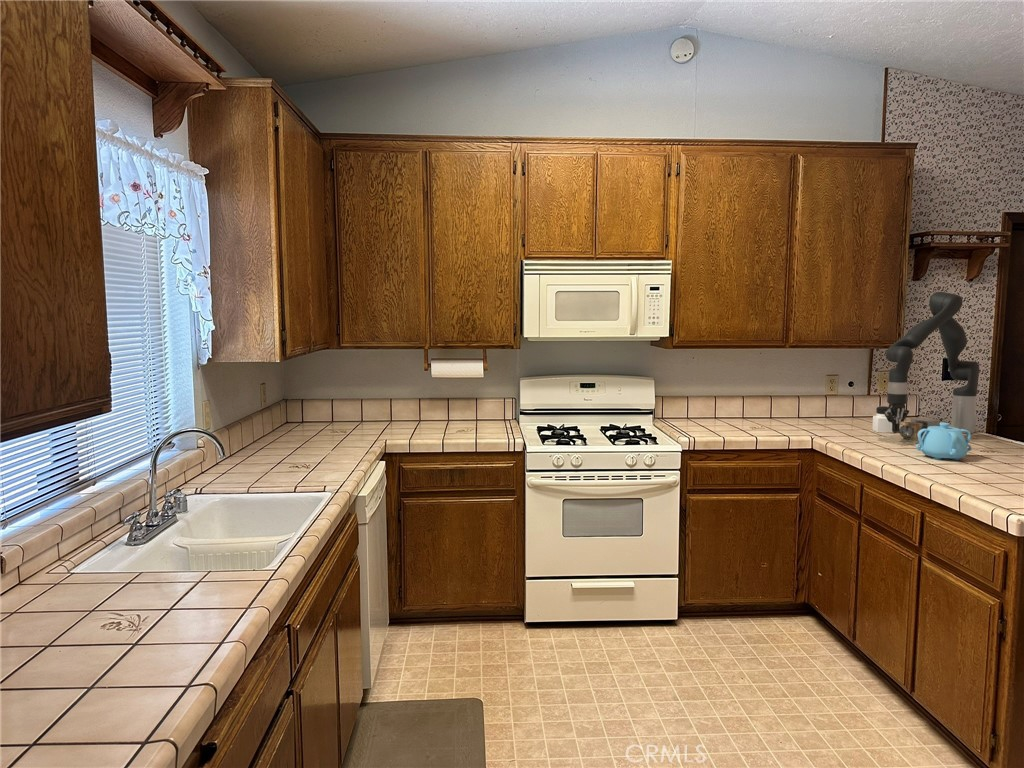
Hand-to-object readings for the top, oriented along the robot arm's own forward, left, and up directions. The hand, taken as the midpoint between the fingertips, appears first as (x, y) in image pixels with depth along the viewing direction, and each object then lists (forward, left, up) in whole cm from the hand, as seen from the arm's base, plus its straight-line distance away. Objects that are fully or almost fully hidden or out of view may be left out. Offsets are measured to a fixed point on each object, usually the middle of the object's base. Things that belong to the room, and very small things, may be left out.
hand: (895, 431), depth 290 cm
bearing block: (-10, 0, -5) cm, 11 cm away
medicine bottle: (-18, -21, -5) cm, 28 cm away
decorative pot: (+11, +29, -5) cm, 31 cm away
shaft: (-15, 0, -3) cm, 15 cm away
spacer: (-10, 0, -3) cm, 10 cm away
